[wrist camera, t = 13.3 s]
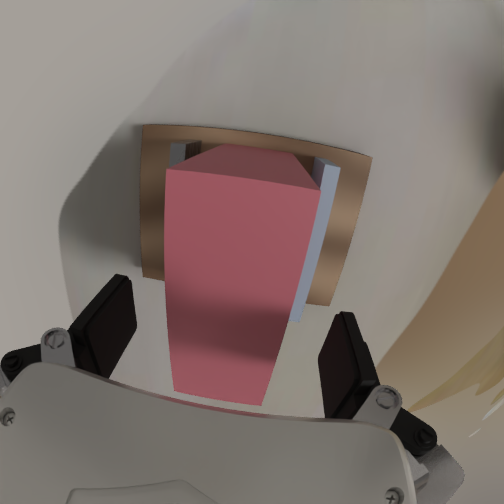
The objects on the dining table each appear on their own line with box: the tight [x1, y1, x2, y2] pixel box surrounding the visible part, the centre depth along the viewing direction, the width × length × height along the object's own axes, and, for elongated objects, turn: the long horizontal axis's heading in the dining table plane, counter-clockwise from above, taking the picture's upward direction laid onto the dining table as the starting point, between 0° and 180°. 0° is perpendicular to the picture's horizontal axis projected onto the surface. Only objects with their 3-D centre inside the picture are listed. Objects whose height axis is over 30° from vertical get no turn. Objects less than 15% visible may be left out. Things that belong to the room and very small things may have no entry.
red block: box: [164, 143, 321, 406], centre depth 16 cm, size 12×5×12 cm, turn 172°
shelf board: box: [140, 124, 372, 306], centre depth 22 cm, size 14×18×2 cm
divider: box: [288, 157, 341, 322], centre depth 20 cm, size 12×1×4 cm, turn 172°
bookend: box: [169, 139, 202, 168], centre depth 20 cm, size 12×1×4 cm, turn 172°
